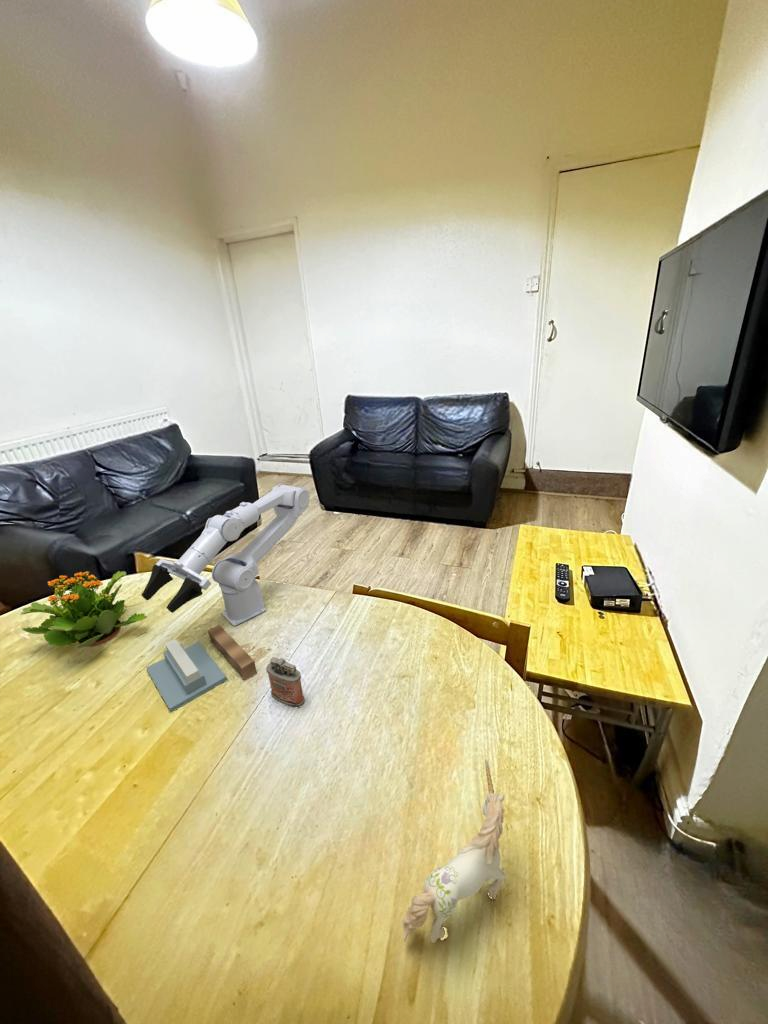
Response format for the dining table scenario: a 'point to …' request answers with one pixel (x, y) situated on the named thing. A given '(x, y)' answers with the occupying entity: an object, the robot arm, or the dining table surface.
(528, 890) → the dining table surface
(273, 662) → the lighter
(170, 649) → the ridge stand
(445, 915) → the unicorn figurine
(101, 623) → the potted flower
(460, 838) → the dining table surface
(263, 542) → the robot arm
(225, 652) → the walnut bar
